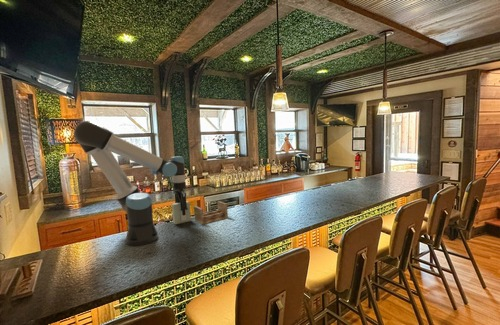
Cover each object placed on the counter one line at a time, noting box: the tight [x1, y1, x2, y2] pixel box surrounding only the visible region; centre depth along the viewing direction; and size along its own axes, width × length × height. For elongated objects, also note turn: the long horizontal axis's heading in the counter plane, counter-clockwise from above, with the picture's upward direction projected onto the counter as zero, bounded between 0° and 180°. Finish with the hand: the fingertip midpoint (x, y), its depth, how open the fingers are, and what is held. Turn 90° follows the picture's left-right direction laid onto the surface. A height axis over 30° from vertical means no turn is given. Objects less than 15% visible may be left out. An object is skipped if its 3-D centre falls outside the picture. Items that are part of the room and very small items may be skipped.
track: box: [193, 200, 229, 225], centre depth 156 cm, size 18×10×9 cm, turn 126°
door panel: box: [171, 200, 192, 225], centre depth 153 cm, size 10×4×12 cm, turn 126°
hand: (181, 218), depth 154 cm, fingers open, 6 cm apart
